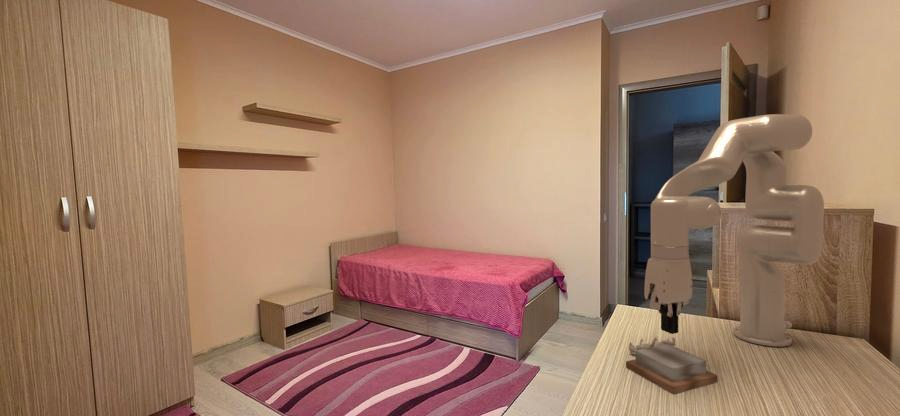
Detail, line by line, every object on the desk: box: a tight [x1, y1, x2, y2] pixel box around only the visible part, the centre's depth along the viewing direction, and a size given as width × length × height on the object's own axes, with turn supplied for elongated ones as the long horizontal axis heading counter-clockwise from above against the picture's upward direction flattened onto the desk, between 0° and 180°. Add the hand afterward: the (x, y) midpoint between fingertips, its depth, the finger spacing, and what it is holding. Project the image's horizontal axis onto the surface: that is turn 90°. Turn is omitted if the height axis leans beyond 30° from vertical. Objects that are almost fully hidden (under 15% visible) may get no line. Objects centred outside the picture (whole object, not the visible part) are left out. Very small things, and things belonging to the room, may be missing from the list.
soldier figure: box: [628, 336, 676, 354], centre depth 99 cm, size 8×5×12 cm
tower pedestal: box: [625, 344, 718, 395], centre depth 88 cm, size 13×13×4 cm
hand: (669, 331), depth 87 cm, fingers closed
